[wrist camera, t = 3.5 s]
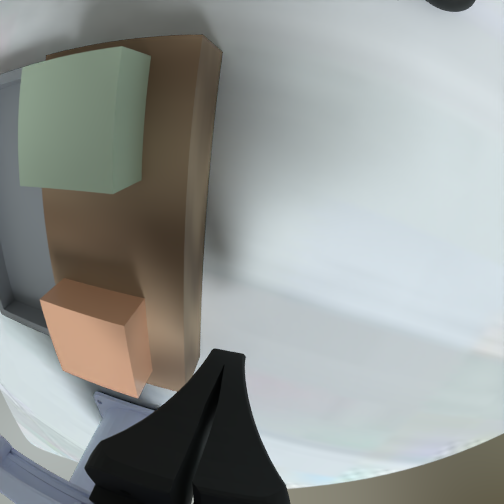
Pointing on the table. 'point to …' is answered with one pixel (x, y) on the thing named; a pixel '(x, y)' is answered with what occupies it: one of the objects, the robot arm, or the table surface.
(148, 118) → the walnut ledge
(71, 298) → the terracotta block
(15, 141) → the charcoal tray
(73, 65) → the sage tile
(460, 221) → the table surface
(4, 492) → the robot arm
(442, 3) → the door handle
